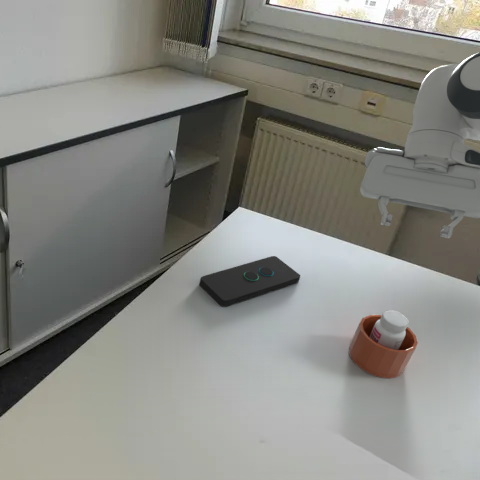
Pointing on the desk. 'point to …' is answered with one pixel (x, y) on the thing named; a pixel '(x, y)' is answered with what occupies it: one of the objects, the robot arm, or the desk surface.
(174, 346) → the desk surface
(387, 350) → the terracotta cup
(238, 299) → the smart home device
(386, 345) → the pill bottle
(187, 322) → the desk surface
